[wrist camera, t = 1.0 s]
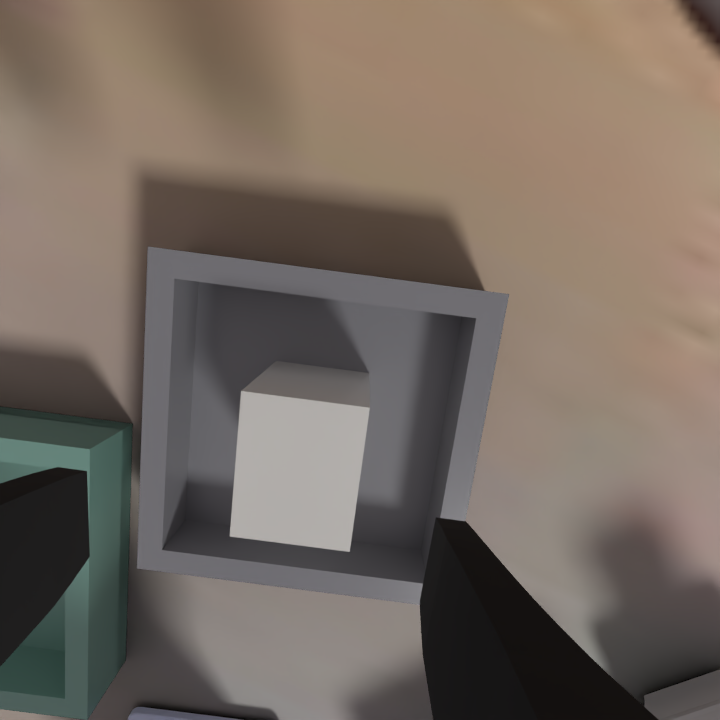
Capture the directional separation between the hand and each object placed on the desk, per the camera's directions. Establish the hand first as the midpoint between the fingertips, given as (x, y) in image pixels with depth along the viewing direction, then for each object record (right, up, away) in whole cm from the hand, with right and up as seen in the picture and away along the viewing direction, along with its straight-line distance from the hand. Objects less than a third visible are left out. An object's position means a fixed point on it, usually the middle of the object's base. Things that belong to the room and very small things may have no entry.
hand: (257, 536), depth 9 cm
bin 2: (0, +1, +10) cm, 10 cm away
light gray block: (0, +1, +10) cm, 10 cm away
